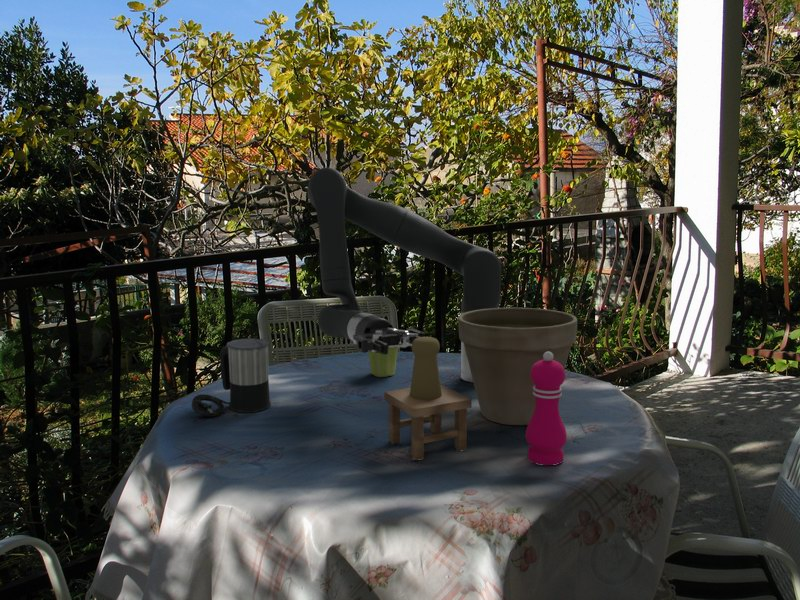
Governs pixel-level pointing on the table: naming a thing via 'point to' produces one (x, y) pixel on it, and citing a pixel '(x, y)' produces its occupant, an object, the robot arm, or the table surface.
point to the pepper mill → (546, 413)
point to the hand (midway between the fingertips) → (405, 346)
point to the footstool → (427, 418)
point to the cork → (425, 369)
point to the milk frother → (241, 378)
